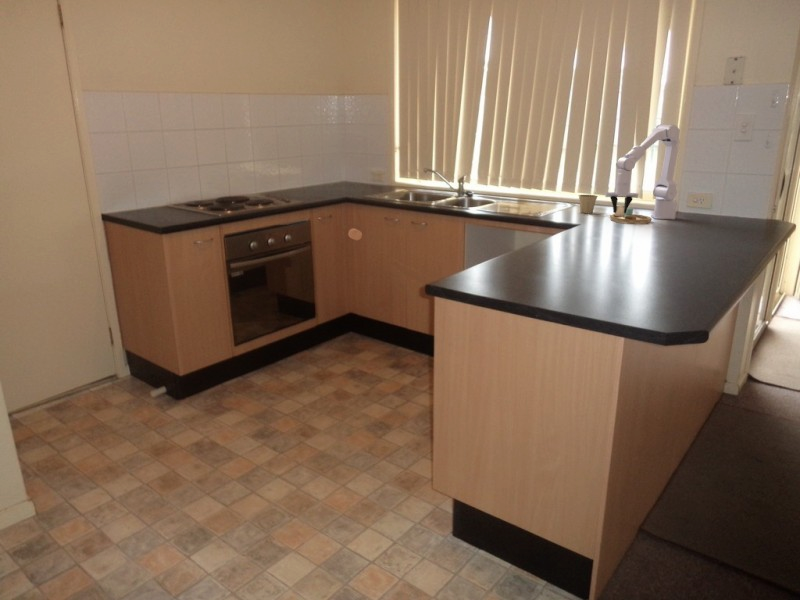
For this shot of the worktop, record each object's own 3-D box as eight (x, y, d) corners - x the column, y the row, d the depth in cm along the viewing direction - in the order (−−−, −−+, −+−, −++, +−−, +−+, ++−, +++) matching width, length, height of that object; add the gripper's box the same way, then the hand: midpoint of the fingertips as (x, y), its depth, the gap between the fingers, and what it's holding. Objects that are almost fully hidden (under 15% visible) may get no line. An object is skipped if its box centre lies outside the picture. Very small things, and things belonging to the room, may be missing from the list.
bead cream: (622, 215, 287) (623, 205, 285) (624, 216, 283) (625, 206, 282) (613, 214, 287) (615, 205, 286) (615, 216, 283) (616, 206, 282)
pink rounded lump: (355, 242, 235) (350, 240, 239) (363, 237, 236) (359, 235, 240) (350, 233, 233) (346, 231, 237) (359, 228, 234) (354, 226, 238)
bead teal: (630, 217, 291) (632, 207, 290) (632, 218, 288) (634, 209, 286) (622, 216, 292) (623, 207, 291) (624, 218, 288) (625, 208, 287)
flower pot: (573, 211, 310) (574, 194, 307) (588, 210, 313) (590, 194, 310) (583, 214, 301) (585, 197, 299) (599, 213, 304) (601, 196, 302)
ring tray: (645, 218, 292) (645, 213, 292) (654, 224, 275) (655, 219, 275) (606, 216, 295) (607, 212, 294) (614, 223, 278) (614, 218, 277)
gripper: (637, 183, 283) (633, 211, 287) (605, 182, 285) (602, 210, 289) (640, 184, 277) (637, 214, 281) (608, 183, 279) (605, 213, 283)
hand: (619, 212), depth 285 cm, fingers closed on bead cream, 4 cm apart
